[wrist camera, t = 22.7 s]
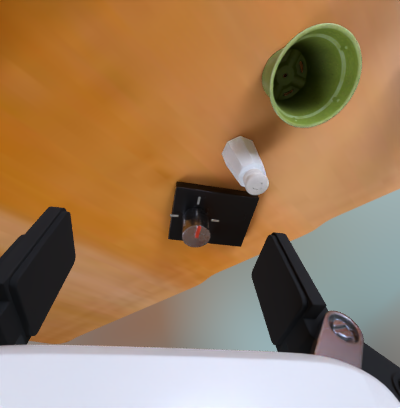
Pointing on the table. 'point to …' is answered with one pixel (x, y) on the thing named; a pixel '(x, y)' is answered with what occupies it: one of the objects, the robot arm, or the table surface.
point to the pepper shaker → (246, 165)
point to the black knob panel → (214, 211)
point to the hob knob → (195, 227)
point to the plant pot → (313, 75)
